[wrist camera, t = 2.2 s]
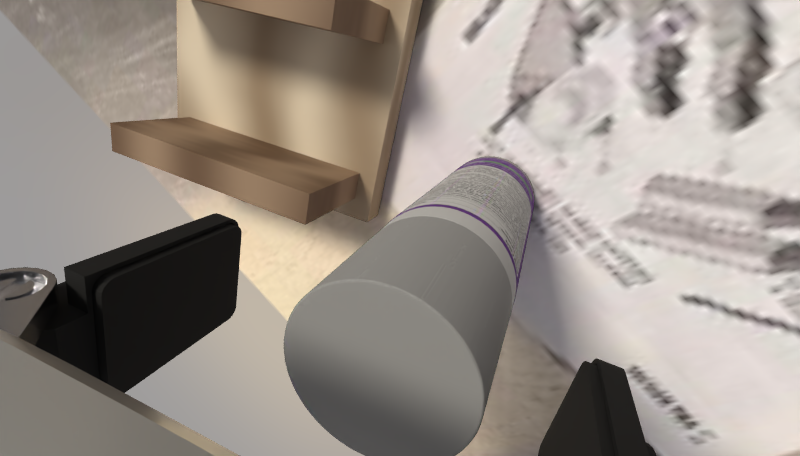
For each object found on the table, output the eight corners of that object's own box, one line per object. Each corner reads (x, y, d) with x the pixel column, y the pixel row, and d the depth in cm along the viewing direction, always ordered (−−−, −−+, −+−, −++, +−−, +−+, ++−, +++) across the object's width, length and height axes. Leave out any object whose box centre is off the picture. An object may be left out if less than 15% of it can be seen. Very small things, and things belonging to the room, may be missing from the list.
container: (482, 256, 22) (372, 495, 9) (429, 192, 22) (242, 340, 9) (554, 208, 20) (546, 430, 7) (495, 137, 20) (377, 225, 7)
